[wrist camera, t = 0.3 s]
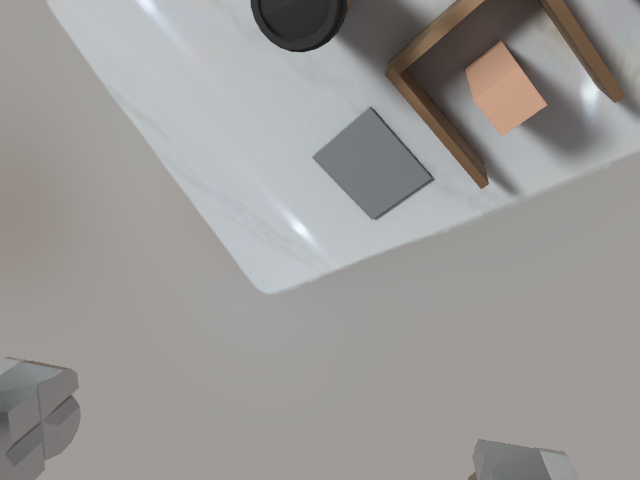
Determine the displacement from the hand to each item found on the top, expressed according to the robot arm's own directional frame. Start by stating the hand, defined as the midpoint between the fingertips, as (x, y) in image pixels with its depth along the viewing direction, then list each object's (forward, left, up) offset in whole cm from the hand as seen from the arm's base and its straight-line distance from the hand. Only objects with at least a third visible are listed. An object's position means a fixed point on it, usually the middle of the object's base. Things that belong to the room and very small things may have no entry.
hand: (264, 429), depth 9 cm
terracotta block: (-5, +11, -51) cm, 52 cm away
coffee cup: (+3, -8, -51) cm, 52 cm away
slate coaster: (+13, +11, -51) cm, 53 cm away
